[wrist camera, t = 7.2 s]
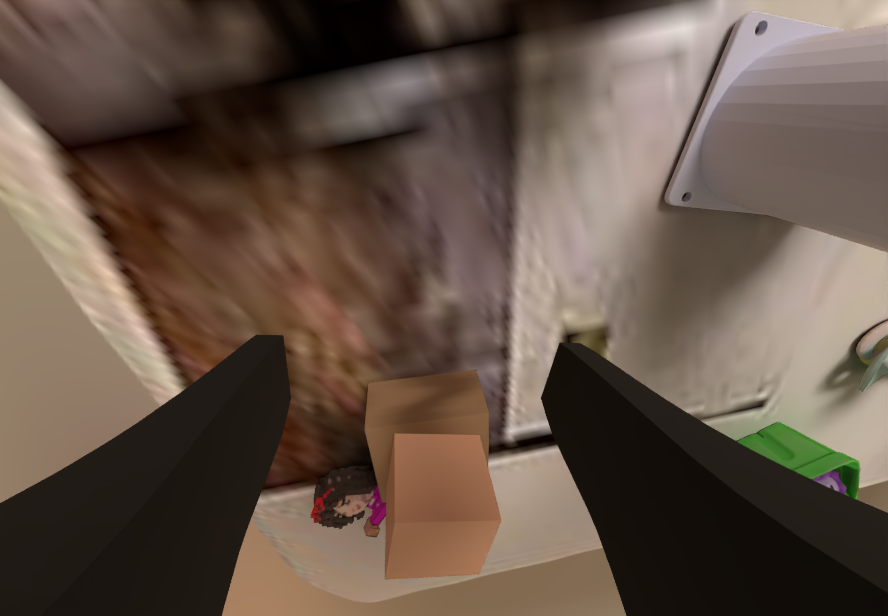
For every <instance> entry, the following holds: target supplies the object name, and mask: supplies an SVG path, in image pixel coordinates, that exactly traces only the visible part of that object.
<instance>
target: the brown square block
mask: <svg viewBox="0 0 888 616" xmlns="http://www.w3.org/2000/svg"><path fill="white" fill-rule="evenodd" d="M365 433H366V437H367V442H368V446H369V450H370V454H371V458H372V462H373V467H374V471H375V475H376V479H377V483H378V488H379V492H380V496H381V500H382V503H384V502H386V491H387V482H388V475H389V468H390V461H391V454H392V447H393V440H394V434H395V433H397V434H450V435H480V439H481V442H482V446H483V450H484V454H485V458H486V462H487V466H488V447H489V411H488V407H487V404H486V401H485V398H484V394H483V391H482V388H481V384H480V381H479V378H478V374H477V371H476V370H470V371H462V372H454V373H445V374H437V375H429V376H421V377H412V378H404V379H396V380H388V381H379V382H371V383H368V395H367V406H366V418H365Z"/></svg>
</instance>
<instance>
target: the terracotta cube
mask: <svg viewBox="0 0 888 616" xmlns="http://www.w3.org/2000/svg"><path fill="white" fill-rule="evenodd" d="M500 523H501V517H500V513H499V509H498V505H497V501H496V497H495V493H494V489H493V485H492V481H491V478H490V474H489V470H488V466H487V462H486V458H485V454H484V450H483V446H482V442H481V439H480V435H450V434H397V433H395V434H394V440H393V447H392V454H391V461H390V468H389V475H388V482H387V491H386V546H385V579H403V578H421V577H439V576H457V575H475V574H479V573H480V570H481V568H482V566H483V563H484V561H485V558H486V556H487V554H488V551H489V549H490V546H491V544H492V542H493V539H494V537H495V534H496V532H497V530H498V527H499V525H500Z"/></svg>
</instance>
